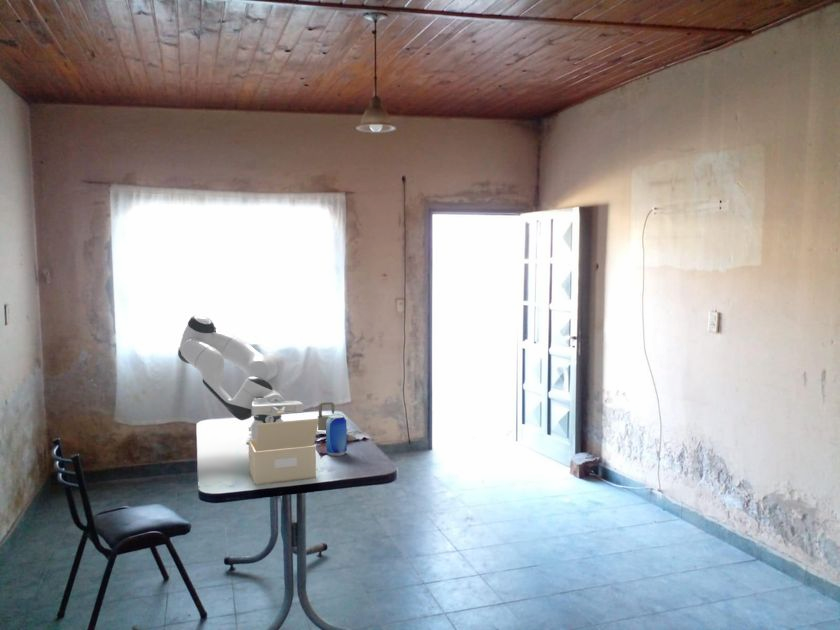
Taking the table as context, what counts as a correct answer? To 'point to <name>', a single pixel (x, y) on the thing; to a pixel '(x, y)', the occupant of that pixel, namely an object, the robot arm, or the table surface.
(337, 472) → the table surface
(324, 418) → the padlock
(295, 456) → the carton
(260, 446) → the carton flap
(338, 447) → the beer can
